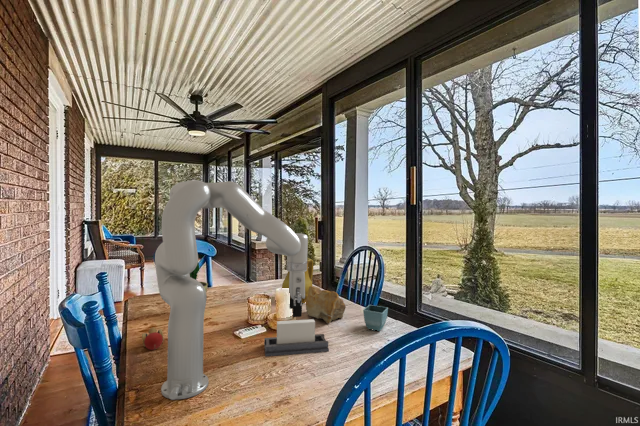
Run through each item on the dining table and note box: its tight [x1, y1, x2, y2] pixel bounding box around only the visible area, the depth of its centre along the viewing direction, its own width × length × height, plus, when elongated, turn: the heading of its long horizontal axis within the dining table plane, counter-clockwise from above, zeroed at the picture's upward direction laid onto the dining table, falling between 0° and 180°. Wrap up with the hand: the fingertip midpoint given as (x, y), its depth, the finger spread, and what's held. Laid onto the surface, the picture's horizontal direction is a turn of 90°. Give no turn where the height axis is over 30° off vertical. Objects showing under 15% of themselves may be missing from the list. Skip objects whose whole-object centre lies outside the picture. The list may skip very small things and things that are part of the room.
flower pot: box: [362, 304, 389, 332], centre depth 139 cm, size 9×9×9 cm
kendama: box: [141, 326, 165, 351], centre depth 122 cm, size 8×6×18 cm
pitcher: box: [281, 257, 314, 303], centre depth 178 cm, size 17×19×25 cm
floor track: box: [263, 333, 330, 358], centre depth 119 cm, size 10×23×3 cm, turn 102°
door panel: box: [276, 318, 316, 344], centre depth 119 cm, size 4×14×9 cm, turn 102°
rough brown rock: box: [305, 285, 347, 324], centre depth 152 cm, size 23×17×15 cm
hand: (295, 312), depth 118 cm, fingers open, 9 cm apart
